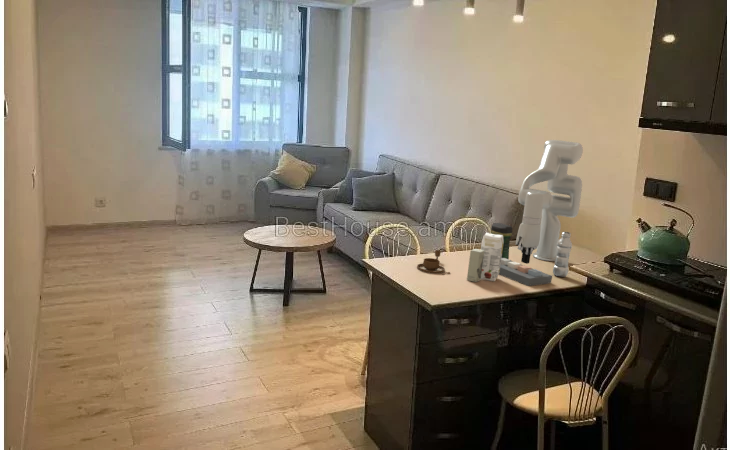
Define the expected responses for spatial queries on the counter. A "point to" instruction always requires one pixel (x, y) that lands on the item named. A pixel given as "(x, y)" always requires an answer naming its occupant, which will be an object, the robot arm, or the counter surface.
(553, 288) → the counter surface
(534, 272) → the key
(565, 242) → the plastic bottle
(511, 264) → the key
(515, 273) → the keypad
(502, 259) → the key
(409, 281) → the counter surface
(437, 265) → the brown cup and saucer
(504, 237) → the coffee jar
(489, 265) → the juice carton
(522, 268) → the key
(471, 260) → the box
